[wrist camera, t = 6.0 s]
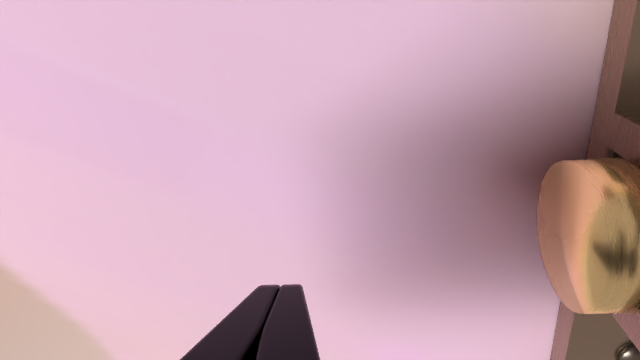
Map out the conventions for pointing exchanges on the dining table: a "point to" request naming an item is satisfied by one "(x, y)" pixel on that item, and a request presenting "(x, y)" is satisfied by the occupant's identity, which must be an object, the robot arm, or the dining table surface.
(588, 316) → the hinge
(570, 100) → the dining table surface
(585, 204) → the pin
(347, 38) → the dining table surface
